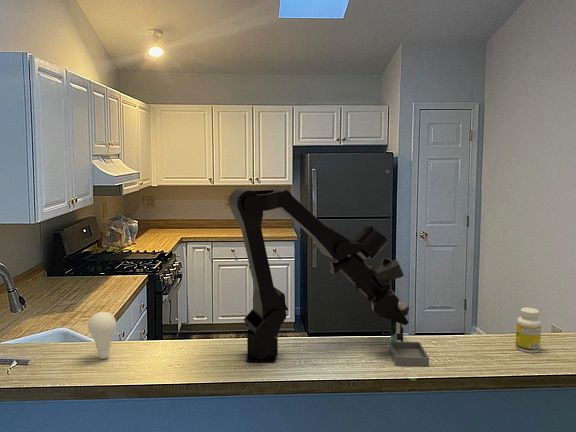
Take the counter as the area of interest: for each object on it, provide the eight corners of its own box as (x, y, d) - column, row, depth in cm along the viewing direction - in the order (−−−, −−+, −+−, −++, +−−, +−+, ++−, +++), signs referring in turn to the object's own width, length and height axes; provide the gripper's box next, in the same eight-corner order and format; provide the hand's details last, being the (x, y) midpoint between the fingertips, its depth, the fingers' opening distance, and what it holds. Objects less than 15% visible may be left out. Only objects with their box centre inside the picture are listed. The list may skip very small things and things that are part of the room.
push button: (409, 348, 131) (411, 309, 129) (387, 348, 131) (388, 308, 130) (406, 338, 137) (407, 300, 136) (384, 338, 138) (386, 300, 136)
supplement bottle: (518, 343, 135) (520, 305, 133) (541, 348, 132) (544, 309, 130) (512, 349, 130) (515, 310, 129) (537, 355, 127) (540, 315, 126)
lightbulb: (123, 356, 125) (121, 310, 124) (104, 366, 120) (102, 318, 118) (103, 351, 128) (101, 306, 126) (83, 361, 123) (81, 314, 121)
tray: (395, 365, 121) (396, 357, 121) (389, 349, 130) (389, 341, 130) (428, 366, 121) (429, 357, 121) (419, 349, 130) (419, 342, 130)
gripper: (390, 259, 122) (437, 307, 123) (378, 242, 140) (419, 284, 141) (354, 292, 123) (401, 339, 124) (347, 272, 141) (388, 313, 143)
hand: (403, 317), depth 133 cm, fingers open, 9 cm apart
